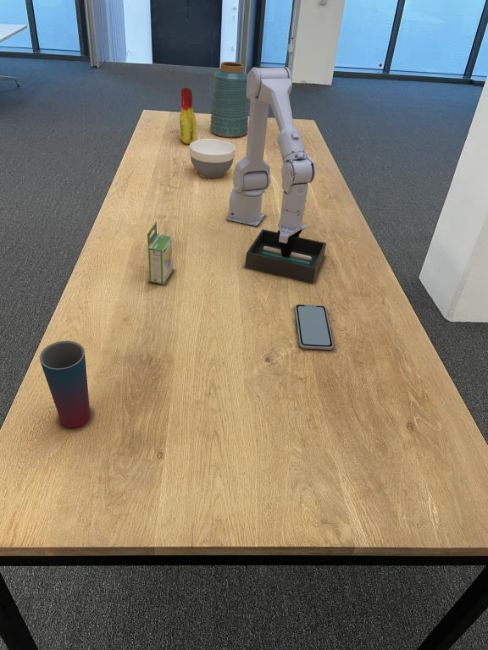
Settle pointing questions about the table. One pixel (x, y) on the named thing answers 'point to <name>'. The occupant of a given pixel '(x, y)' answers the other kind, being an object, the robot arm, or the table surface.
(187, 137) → the bottle
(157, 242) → the ink box
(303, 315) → the smartphone
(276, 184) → the table surface
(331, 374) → the table surface
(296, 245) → the bin
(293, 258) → the straws
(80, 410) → the cup
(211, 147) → the bowl
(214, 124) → the vase
